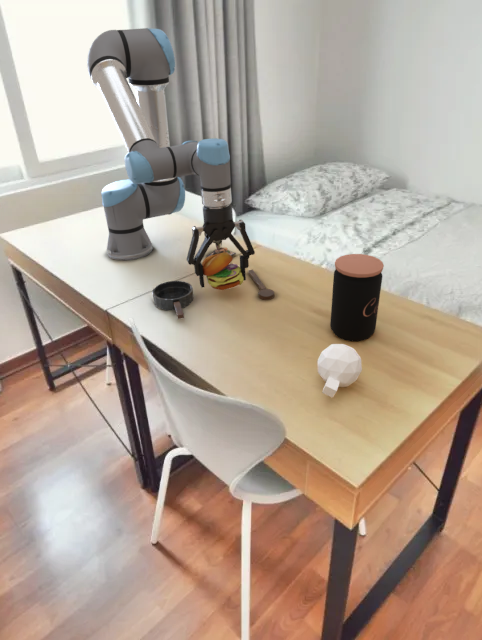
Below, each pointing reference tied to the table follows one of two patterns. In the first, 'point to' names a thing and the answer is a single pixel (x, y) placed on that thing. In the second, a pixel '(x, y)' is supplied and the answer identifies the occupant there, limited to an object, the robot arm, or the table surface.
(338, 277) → the coffee jar
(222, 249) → the grey brown figurine
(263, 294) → the wooden spoon
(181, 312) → the pan handle
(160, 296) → the pan
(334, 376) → the perfume bottle
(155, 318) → the table surface
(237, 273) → the cheeseburger
